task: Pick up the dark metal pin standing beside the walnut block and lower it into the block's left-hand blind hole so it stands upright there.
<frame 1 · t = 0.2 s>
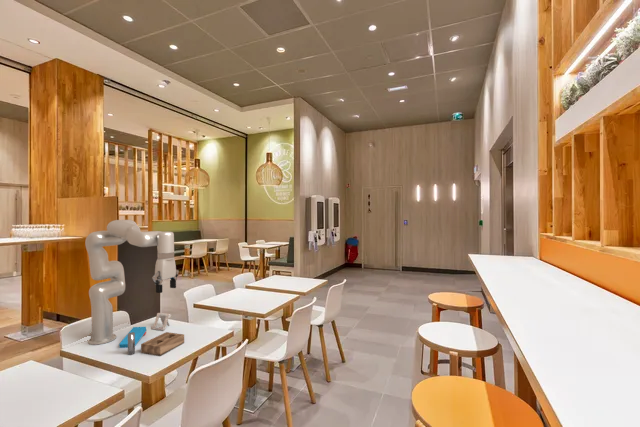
hand: (166, 290, 155), 31 cm above the table, tool pointing down, fingers open, 9 cm apart
portable electronic device stand: (161, 328, 186), on the table
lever: (135, 341, 168), on the table
pin: (131, 353, 152), on the table
hole block: (163, 347, 158), on the table
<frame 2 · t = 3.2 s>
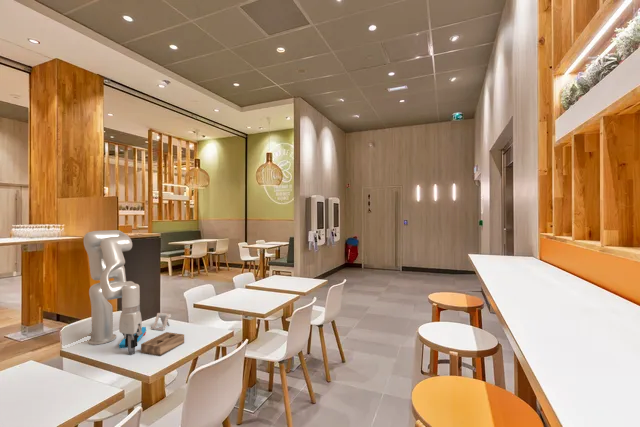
hand: (131, 346, 152), 4 cm above the table, tool pointing down, fingers closed on pin, 3 cm apart
pin: (131, 353, 152), on the table, touching gripper
everything else where it was.
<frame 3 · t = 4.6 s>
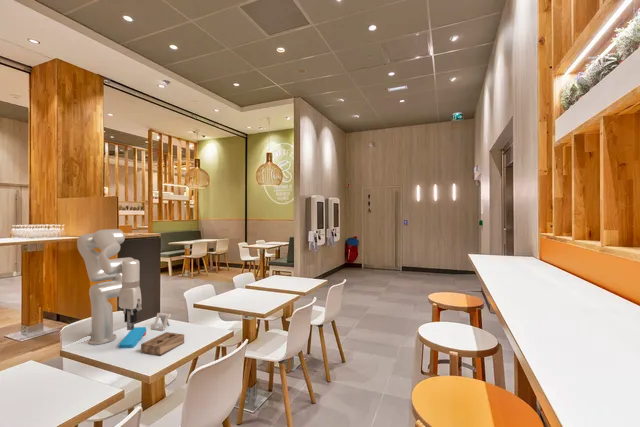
hand: (130, 321, 152), 16 cm above the table, tool pointing down, fingers closed on pin, 3 cm apart
pin: (130, 329, 152), point 12 cm above the table, touching gripper
everything else where it was.
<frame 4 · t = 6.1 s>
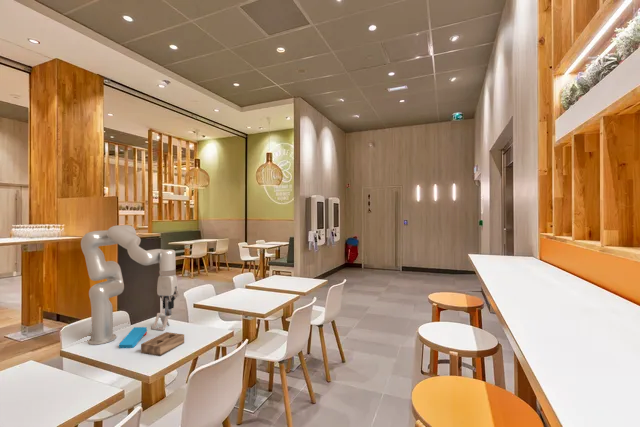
hand: (168, 307, 162), 19 cm above the table, tool pointing down, fingers closed on pin, 3 cm apart
pin: (168, 315, 162), point 16 cm above the table, touching gripper
everything else where it was.
when the fingers open (5 cm above the table, at t = 9.1 s): pin stays where it is, resting on hole block.
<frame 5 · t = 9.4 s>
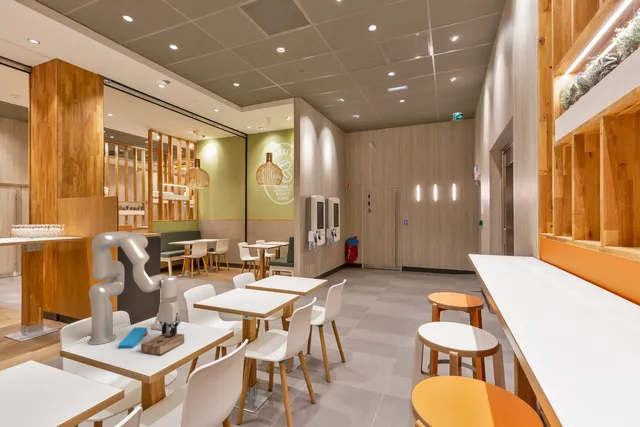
hand: (169, 333, 162), 6 cm above the table, tool pointing down, fingers open, 5 cm apart
pin: (169, 343, 162), point 1 cm above the table, touching hole block
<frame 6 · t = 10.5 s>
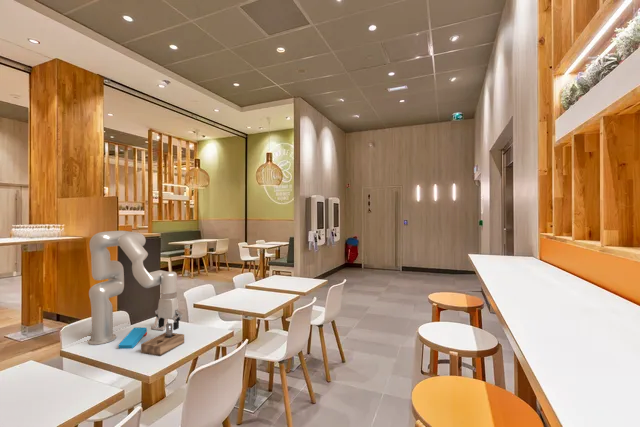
hand: (168, 328, 162), 9 cm above the table, tool pointing down, fingers open, 9 cm apart
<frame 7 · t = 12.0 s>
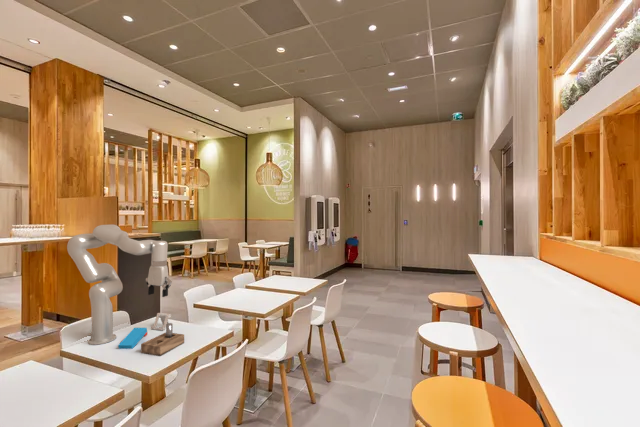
hand: (158, 295, 167), 25 cm above the table, tool pointing down, fingers open, 9 cm apart
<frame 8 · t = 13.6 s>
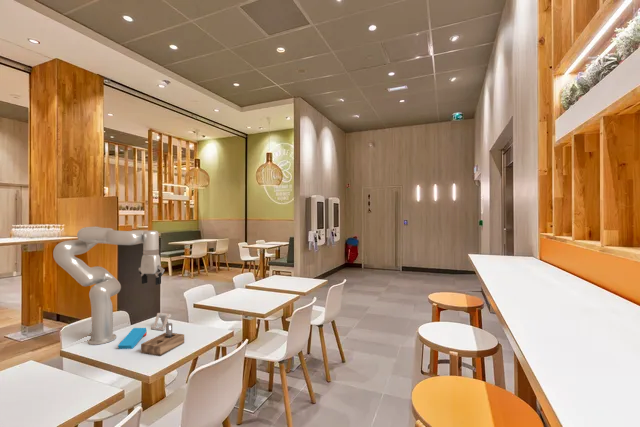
hand: (151, 283, 171), 30 cm above the table, tool pointing down, fingers open, 9 cm apart
at the end: pin 0.0 cm from the target spot on the hole block, point 0.8 cm above the hole block's base; pin tilted 1°; the gripper is holding nothing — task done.
